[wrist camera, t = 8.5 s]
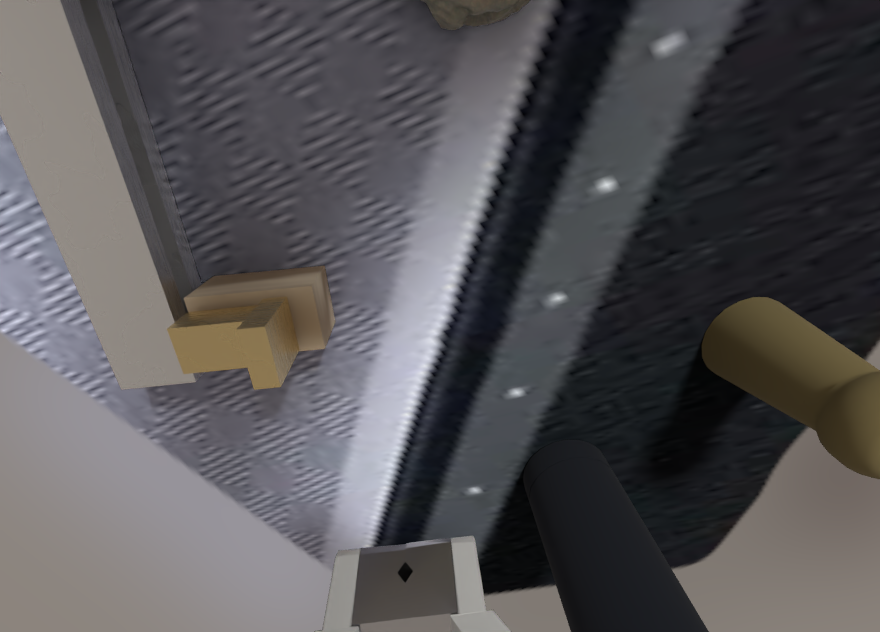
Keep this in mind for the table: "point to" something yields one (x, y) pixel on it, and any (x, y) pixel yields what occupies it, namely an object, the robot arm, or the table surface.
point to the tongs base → (141, 141)
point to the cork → (800, 376)
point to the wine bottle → (601, 546)
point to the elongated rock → (472, 11)
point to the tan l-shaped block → (238, 341)
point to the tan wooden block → (296, 284)
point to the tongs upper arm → (89, 186)
